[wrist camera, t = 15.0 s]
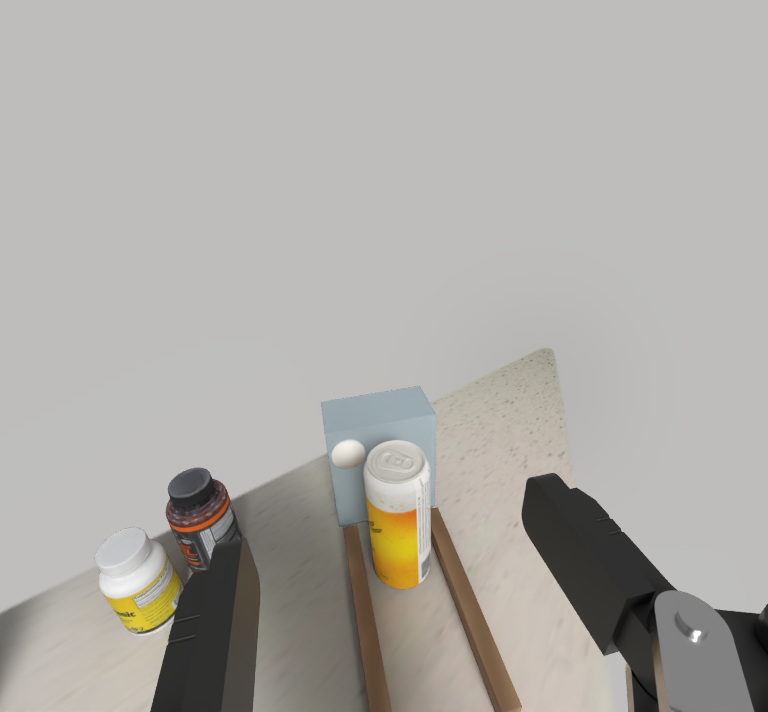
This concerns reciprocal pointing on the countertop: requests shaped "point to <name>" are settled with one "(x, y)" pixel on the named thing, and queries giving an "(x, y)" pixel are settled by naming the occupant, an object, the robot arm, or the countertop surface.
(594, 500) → the robot arm
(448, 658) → the countertop surface
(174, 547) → the countertop surface
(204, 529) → the supplement bottle
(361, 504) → the end cabinet
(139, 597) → the supplement bottle
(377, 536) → the beer can
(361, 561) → the rail track
